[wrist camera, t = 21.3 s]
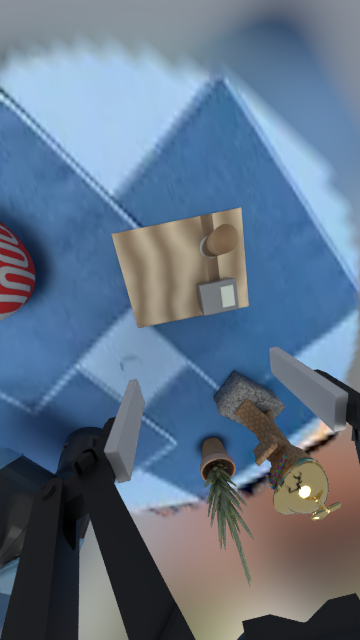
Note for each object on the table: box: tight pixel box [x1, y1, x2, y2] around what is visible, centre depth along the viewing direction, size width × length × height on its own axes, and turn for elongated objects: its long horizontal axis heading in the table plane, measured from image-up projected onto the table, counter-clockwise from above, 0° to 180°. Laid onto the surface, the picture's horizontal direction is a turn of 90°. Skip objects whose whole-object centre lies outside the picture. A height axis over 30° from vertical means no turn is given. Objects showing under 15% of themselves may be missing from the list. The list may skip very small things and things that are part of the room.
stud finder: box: [196, 277, 239, 316], centre depth 35 cm, size 7×6×5 cm
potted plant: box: [200, 438, 254, 586], centre depth 40 cm, size 10×10×25 cm
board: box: [112, 208, 249, 328], centre depth 36 cm, size 26×20×2 cm
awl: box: [202, 224, 238, 257], centre depth 30 cm, size 4×4×10 cm
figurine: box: [214, 371, 341, 521], centre depth 35 cm, size 14×11×25 cm
